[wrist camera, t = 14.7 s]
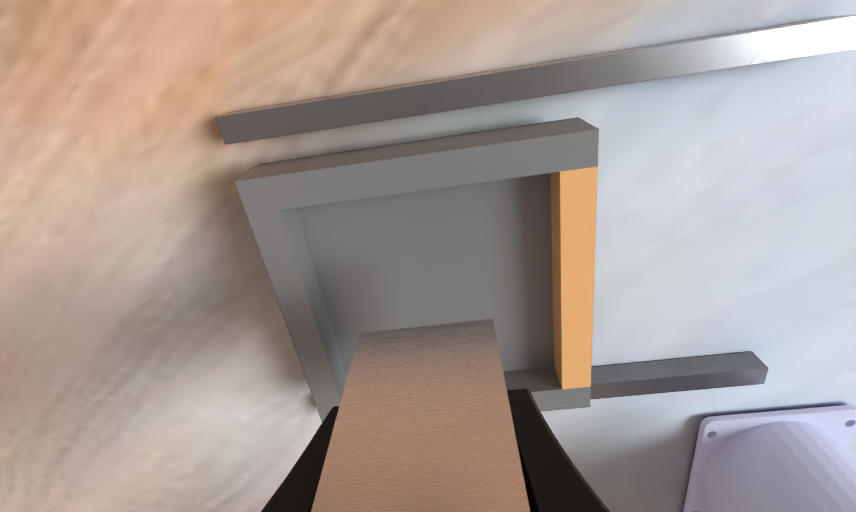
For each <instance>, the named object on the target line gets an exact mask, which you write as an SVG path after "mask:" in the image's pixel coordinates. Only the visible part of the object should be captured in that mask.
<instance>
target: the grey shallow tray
mask: <svg viewBox="0 0 856 512" xmlns="http://www.w3.org/2000/svg"><path fill="white" fill-rule="evenodd" d="M598 134H599V129H598V128H596V127H594V126H592V125H591V124H589V123H587V122H585V121H584V120H582V119H580V118H571V119H564V120H557V121H550V122H543V123H537V124H530V125H523V126H516V127H509V128H503V129H496V130H489V131H482V132H475V133H469V134H462V135H455V136H448V137H441V138H434V139H428V140H421V141H414V142H407V143H400V144H394V145H387V146H380V147H373V148H366V149H360V150H353V151H346V152H339V153H332V154H325V155H319V156H312V157H305V158H298V159H291V160H285V161H278V162H271V163H264V164H258V165H257V166H256V167H254V168H253V169H251V170H250V171H248V172H247V173H246V174H244V175H243V176H241V177H240V178H239V179H237V180H236V181H234V182H235V185H236V188H237V191H238V193H239V196H240V199H241V201H242V204H243V207H244V210H245V212H246V215H247V218H248V221H249V223H250V226H251V229H252V232H253V234H254V237H255V240H256V243H257V245H258V248H259V251H260V254H261V256H262V259H263V262H264V264H265V267H266V270H267V273H268V275H269V278H270V281H271V284H272V286H273V289H274V292H275V295H276V297H277V300H278V303H279V306H280V308H281V311H282V314H283V317H284V319H285V322H286V325H287V327H288V330H289V333H290V336H291V338H292V341H293V344H294V347H295V349H296V352H297V355H298V358H299V360H300V363H301V366H302V369H303V371H304V374H305V377H306V380H307V382H308V385H309V388H310V390H311V393H312V396H313V399H314V401H315V404H316V407H317V410H318V412H319V415H320V418H321V421H322V422H323V421H324V419H325V418H326V416H327V414H328V413H329V411H330V410H331V409H332V408H333V407H335V406H340V402H341V399H342V395H343V391H344V387H345V384H346V380H347V376H348V373H349V369H350V365H351V361H352V358H353V354H354V350H355V347H356V343H357V339H358V335H359V333H365V332H374V331H383V330H392V329H401V328H411V327H420V326H429V325H438V324H447V323H456V322H466V321H475V320H484V319H493V322H494V327H495V332H496V337H497V342H498V348H499V353H500V358H501V363H502V368H503V373H504V379H505V384H506V389H507V390H515V389H528V390H529V391H531V394H532V396H533V398H534V400H535V402H536V404H537V406H538V408H539V410H540V411H551V410H562V409H574V408H585V407H590V395H591V363H592V330H593V297H594V265H595V232H596V199H597V167H598Z"/></svg>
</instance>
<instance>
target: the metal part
mask: <svg viewBox="0 0 856 512" xmlns="http://www.w3.org/2000/svg"><path fill="white" fill-rule="evenodd" d="M311 512H530V508H529V503H528V498H527V493H526V487H525V482H524V477H523V472H522V467H521V461H520V456H519V451H518V446H517V441H516V436H515V430H514V425H513V420H512V415H511V410H510V405H509V399H508V394H507V389H506V384H505V379H504V373H503V368H502V363H501V358H500V353H499V348H498V342H497V337H496V332H495V327H494V322H493V319H484V320H475V321H466V322H456V323H447V324H438V325H429V326H420V327H411V328H401V329H392V330H383V331H374V332H365V333H359V335H358V339H357V343H356V347H355V350H354V354H353V358H352V361H351V365H350V369H349V373H348V376H347V380H346V384H345V387H344V391H343V395H342V399H341V402H340V406H339V410H338V413H337V417H336V421H335V425H334V428H333V432H332V436H331V439H330V443H329V447H328V451H327V454H326V458H325V462H324V465H323V469H322V473H321V477H320V480H319V484H318V488H317V491H316V495H315V499H314V503H313V506H312V510H311Z"/></svg>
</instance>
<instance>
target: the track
mask: <svg viewBox="0 0 856 512" xmlns="http://www.w3.org/2000/svg"><path fill="white" fill-rule="evenodd" d="M851 49H856V15H846V16H832V17H826V18H819V19H813V20H807V21H800V22H794V23H788V24H781V25H775V26H769V27H763V28H756V29H750V30H744V31H737V32H731V33H725V34H719V35H712V36H706V37H700V38H693V39H687V40H681V41H674V42H668V43H662V44H656V45H649V46H643V47H637V48H630V49H624V50H618V51H612V52H605V53H599V54H593V55H586V56H580V57H574V58H567V59H561V60H555V61H549V62H542V63H536V64H530V65H523V66H517V67H511V68H505V69H498V70H492V71H486V72H479V73H473V74H467V75H460V76H454V77H448V78H442V79H435V80H429V81H423V82H416V83H410V84H404V85H398V86H391V87H385V88H379V89H372V90H366V91H360V92H353V93H347V94H341V95H335V96H328V97H322V98H316V99H309V100H303V101H297V102H291V103H284V104H278V105H272V106H265V107H259V108H253V109H246V110H240V111H234V112H229V113H226V114H223V115H220V116H217V117H215V118H216V121H217V123H218V126H219V129H220V132H221V134H222V137H223V140H224V143H225V145H226V144H233V143H239V142H246V141H252V140H259V139H266V138H272V137H279V136H285V135H292V134H298V133H305V132H312V131H318V130H325V129H331V128H338V127H344V126H351V125H358V124H364V123H371V122H377V121H384V120H390V119H397V118H404V117H410V116H417V115H423V114H430V113H437V112H443V111H450V110H456V109H463V108H469V107H476V106H483V105H489V104H496V103H502V102H509V101H515V100H522V99H529V98H535V97H542V96H548V95H555V94H561V93H568V92H575V91H581V90H588V89H594V88H601V87H607V86H614V85H621V84H627V83H634V82H640V81H647V80H654V79H660V78H667V77H673V76H680V75H686V74H693V73H700V72H706V71H713V70H719V69H726V68H732V67H739V66H746V65H752V64H759V63H765V62H772V61H778V60H785V59H792V58H798V57H805V56H811V55H818V54H825V53H831V52H838V51H844V50H851ZM767 371H768V367H767V366H766V365H765V364H764V363H763V362H762V361H761V360H760V359H759V358H758V357H757V356H756V355H755V354H754V353H753V352H752V351H751V352H741V353H731V354H720V355H710V356H700V357H689V358H679V359H669V360H658V361H648V362H638V363H627V364H617V365H606V366H596V367H591V395H590V399H600V398H611V397H622V396H633V395H644V394H655V393H667V392H678V391H689V390H700V389H711V388H722V387H733V386H744V385H755V384H764V382H765V378H766V375H767Z"/></svg>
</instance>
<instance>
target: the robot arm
mask: <svg viewBox="0 0 856 512" xmlns="http://www.w3.org/2000/svg"><path fill="white" fill-rule="evenodd" d="M507 394H508V399H509V405H510V410H511V415H512V420H513V425H514V430H515V436H516V441H517V446H518V451H519V456H520V461H521V467H522V472H523V477H524V482H525V487H526V493H527V498H528V503H529V508H530V512H610V511H609V510H608V509H607V507H606V506H605V505H604V504H603V502H602V501H601V500H600V499H599V497H598V496H597V495H596V494H595V492H594V491H593V490H592V488H591V487H590V486H589V484H588V483H587V482H586V480H585V479H584V478H583V476H582V475H581V474H580V472H579V471H578V470H577V468H576V467H575V465H574V464H573V463H572V461H571V460H570V458H569V457H568V455H567V454H566V452H565V451H564V449H563V448H562V446H561V445H560V443H559V442H558V440H557V439H556V437H555V436H554V434H553V433H552V431H551V429H550V428H549V426H548V424H547V423H546V421H545V419H544V417H543V416H542V414H541V412H540V410H539V408H538V406H537V404H536V402H535V400H534V398H533V396H532V394H531V391H529V390H528V389H515V390H507ZM338 410H339V406H335V407H333V408H332V409H331V410H330V411H329V413H328V414H327V416H326V418H325V419H324V421H323V422H322V424H321V426H320V427H319V429H318V430H317V432H316V434H315V435H314V437H313V438H312V440H311V441H310V443H309V444H308V446H307V447H306V449H305V451H304V452H303V454H302V455H301V456H300V458H299V459H298V461H297V462H296V464H295V465H294V467H293V468H292V470H291V471H290V473H289V474H288V475H287V477H286V478H285V480H284V481H283V483H282V484H281V485H280V487H279V488H278V489H277V491H276V492H275V493H274V495H273V496H272V497H271V499H270V500H269V501H268V503H267V504H266V505H265V507H264V508H263V510H262V511H261V512H311V510H312V506H313V503H314V499H315V495H316V491H317V488H318V484H319V480H320V477H321V473H322V469H323V465H324V462H325V458H326V454H327V451H328V447H329V443H330V439H331V436H332V432H333V428H334V425H335V421H336V417H337V413H338ZM855 432H856V406H855V405H840V406H828V407H817V408H805V409H793V410H781V411H769V412H758V413H746V414H734V415H722V416H710V417H706V418H704V419H703V420H702V421H701V423H700V427H699V432H698V438H697V443H696V448H695V453H694V458H693V463H692V468H691V474H690V479H689V484H688V489H687V494H686V499H685V504H684V510H683V512H856V458H855V457H854V456H853V455H852V454H851V453H850V452H849V451H848V448H849V446H850V443H851V441H852V439H853V436H854V434H855Z"/></svg>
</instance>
